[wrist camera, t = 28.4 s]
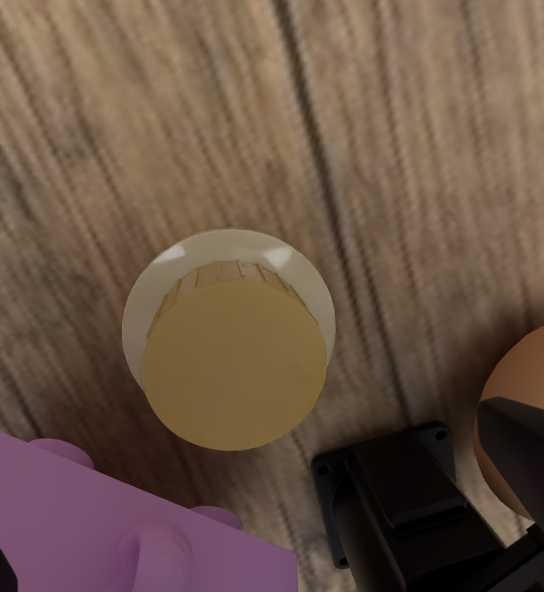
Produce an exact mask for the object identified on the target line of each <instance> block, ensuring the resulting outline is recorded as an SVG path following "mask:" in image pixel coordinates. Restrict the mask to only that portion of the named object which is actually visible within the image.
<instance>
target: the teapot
mask: <svg viewBox="0 0 544 592" xmlns="http://www.w3.org/2000/svg"><path fill="white" fill-rule="evenodd" d="M0 548H1V550H2V551H3V553H4V555H5V557H6V558H7V560H8V562H9V563H10V565H11V567H12V568H13V570H14V572H15V574H16V576H17V579H18V592H298V581H297V554H296V553H293V552H291V551H289V550H286V549H284V548H281V547H279V546H276V545H274V544H272V543H269V542H267V541H264V540H262V539H260V538H257V537H255V536H252V535H250V534H247V533H245V532H243V531H242V523H241V521H240V519H239V518H238V517H237V516H236V515H235V514H233V513H232V512H230V511H228V510H226V509H223V508H219V507H214V506H199V507H194V508H190V509H187V508H184V507H182V506H180V505H177V504H175V503H172V502H170V501H168V500H165V499H163V498H160V497H158V496H155V495H153V494H151V493H148V492H146V491H143V490H141V489H138V488H136V487H133V486H131V485H129V484H126V483H124V482H121V481H119V480H116V479H114V478H112V477H109V476H107V475H104V474H102V473H100V472H97V471H95V470H94V464H93V462H92V460H91V459H90V457H89V456H88V455H87V454H86V453H85V452H84V451H83V450H81V449H80V448H78V447H77V446H75V445H73V444H71V443H68V442H65V441H61V440H57V439H49V438H45V439H36V440H33V441H30V442H28V443H27V442H25V441H22V440H20V439H17V438H15V437H13V436H10V435H8V434H5V433H3V432H0Z"/></svg>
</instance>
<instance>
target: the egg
mask: <svg viewBox="0 0 544 592" xmlns="http://www.w3.org/2000/svg"><path fill="white" fill-rule="evenodd" d="M496 396H500V397H504V398H508V399H511V400H514V401H518V402H521V403H525V404H528V405H531V406H535V407H538V408H541V409H544V326H542V327H540V328H538V329H536V330H534V331H533V332H531V333H529V334H528V335H526V336H525V337H524V338H523V339H521V340H520V341H519V342H518V343H517V344H516V345H515V346H514V347H512V348H511V349H510V350H509V351H508V353H507V354H506V355H505V356H504V357H503V358H502V359H501V360H500V361H499V362H498V364H497V365H496V367H495V369H494V370H493V372H492V374H491V375H490V377H489V379H488V380H487V382H486V383H485V386H484V389H483V392H482V396H481V399H480V401H481V400H485V399H488V398H492V397H496ZM474 448H475V455H476V458H477V461H478V465H479V468H480V470H481V473H482V475H483V478H484V479H485V481H486V483H487V484H488V486H489V488H490V489H491V490H492V492H493V493H494V494H495V495H496V496H497V498H498V499H499V500H500V501H501V502H502V503H504V504H505V505H506V506H507V507H509V508H510V509H511V510H513V511H514V512H515V513H517V514H519V515H521V516H523V517H525V518H527V519H529V520H532V521H534V520H533V518H532V517H531V516H530V514H529V513H528V512H527V510H526V509H525V508H524V506H523V505H522V503H521V502H520V501H519V499H518V498H517V496H516V495H515V494H514V492H513V491H512V489H511V488H510V487H509V485H508V484H507V482H506V481H505V480H504V478H503V477H502V475H501V474H500V473H499V471H498V470H497V468H496V467H495V466H494V464H493V463H492V461H491V460H490V459H489V457H488V456H487V454H486V453H485V452H484V450H483V448H482V447H481V444H480V442H479V439H478V429H477V414H476V418H475V424H474ZM534 522H535V521H534Z"/></svg>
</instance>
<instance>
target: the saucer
mask: <svg viewBox="0 0 544 592" xmlns="http://www.w3.org/2000/svg"><path fill="white" fill-rule="evenodd" d="M237 259H240V261H243V262H249V263H253V264H257V263H259V264H260V265H261V266H262V267H264V268H267V269H268V270H270V271H272V272H274V273H275V272H277V273H278V274H279V275H280V277H281V278H282V279H283V280H284V281H285V282H286V283H287V284H288V285H289V286H290V285H292V286H293V288H294V289H295V290H296V292H297V293H298V294H299V296H300V297H301V298H302V299H303V301H304V302H305V303H306V305H307V306H308V307H307V309H308V310H309V311H310V313H311V314H312V315H313V317H314V318H315V319H316V321H317V322H318V323H319V326H318V327H319V329H320V331H321V333H322V336H323V339H324V341H325V346H326V351H327V365H328V363H329V360H330V358H331V354H332V351H333V347H334V341H335V335H336V319H335V310H334V306H333V302H332V298H331V295H330V293H329V290H328V288H327V285H326V284H325V282H324V280H323V278H322V277H321V275H320V273H319V272H318V271H317V270H316V268H315V267H314V266H313V265H312V263H311V262H310V261H309V260H308V259H307V258H306V257H304V256H303V255H302V254H301V253H300V252H299V251H298V250H296V249H295V248H293V247H292V246H291V245H289V244H288V243H287V242H285V241H283V240H281V239H279V238H277V237H275V236H273V235H270V234H267V233H265V232H262V231H258V230H254V229H249V228H240V227H219V228H213V229H208V230H203V231H200V232H197V233H194V234H191V235H188V236H186V237H184V238H182V239H180V240H178V241H176V242H175V243H173V244H172V245H170V246H168V247H167V248H165V249H164V250H163V251H162V252H161V253H160V254H158V255H157V256H156V257H155V258H154V259H153V260H152V261H151V262H150V263H149V265H148V266H147V267H146V268H145V269H144V271H143V272H142V273H141V275H140V276H139V278H138V279H137V281H136V282H135V284H134V286H133V288H132V290H131V292H130V294H129V296H128V299H127V303H126V306H125V309H124V314H123V321H122V343H123V350H124V354H125V357H126V361H127V364H128V366H129V369H130V371H131V373H132V375H133V377H134V379H135V380H136V382H137V383H138V385H139V386H140V388H141V389H142V390H143V391H144V387H143V382H142V363H141V361H142V358H143V354H144V349H145V346H146V343H147V341H145V338H146V335H147V333H148V331H149V328H150V326H151V324H152V321H153V319H154V317H155V314H156V312H158V309H159V307H160V305H161V302H162V300H163V297H164V295H165V294H168V293H169V292H170V291H171V289H172V288H173V287H174V286H175V285H176V284H177V281H178V279H179V278H180V279H182V278H184V277H185V276H186V275H188V274H189V273H191V272H192V271H194V270H195V268H196V267H198V268H200V267H203V266H205V265H208V264H212V263H215V261H219V262H222V261H237ZM144 393H145V391H144Z"/></svg>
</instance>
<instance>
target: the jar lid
mask: <svg viewBox="0 0 544 592" xmlns="http://www.w3.org/2000/svg"><path fill="white" fill-rule="evenodd" d="M307 307H308V306H307V305H306V303H305V302H304V301H303V299H302V298H301V297H300V296H299V294H298V293H297V292H296V290H295V289H294V288H293V286H292V285H290V286H289V285H288V284H287V283H286V282H285V281H284V280H283V279H282V278H281V277H280V275H279V274H278V273H277V272H275V273H274V272H272V271H270V270H268V269H267V268H264V267H262V266H261V265H260V264H259V263H257V264H253V263H249V262H243V261H240V259H237V261H222V262H219V261H215V263H212V264H208V265H205V266H203V267H200V268H198V267H196V268H195V270H194V271H192V272H191V273H189V274H188V275H186V276H185V277H184V278H182V279H180V278H179V279H178V281H177V284H176V285H175V286H174V287H173V288H172V289H171V291H170V292H169V293H168V294H165V295H164V297H163V300H162V302H161V305H160V307H159V309H158V312H156V314H155V317H154V319H153V321H152V324H151V326H150V328H149V331H148V333H147V335H146V338H145V341H147V343H146V346H145V349H144V354H143V358H142V361H141V363H142V382H143V387H144V391H145V394H146V397H147V399H148V402H149V404H150V406H151V407H152V409H153V411H154V413H155V414H156V415H157V417H158V418H159V419H160V421H161V422H162V423H163V424H164V425H165V426H166V427H167V428H168V429H170V430H171V431H172V432H173V433H175V434H176V435H177V436H179V437H181V438H183V439H184V440H186V441H188V442H190V443H193V444H195V445H198V446H201V447H204V448H208V449H214V450H220V451H239V450H247V449H252V448H256V447H260V446H263V445H266V444H268V443H271V442H273V441H275V440H277V439H279V438H281V437H283V436H284V435H286V434H287V433H289V432H290V431H292V430H293V429H294V428H295V427H297V426H298V425H299V424H300V423H301V422H302V421H303V420H304V419H305V418H306V416H307V415H308V414H309V413H310V412H311V410H312V409H313V407H314V406H315V404H316V402H317V400H318V399H319V397H320V395H321V392H322V389H323V386H324V383H325V379H326V374H327V351H326V346H325V341H324V339H323V336H322V333H321V331H320V329H319V327H318V326H319V323H318V322H317V321H316V319H315V318H314V317H313V315H312V314H311V313H310V311H309V310H308V309H307Z"/></svg>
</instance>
